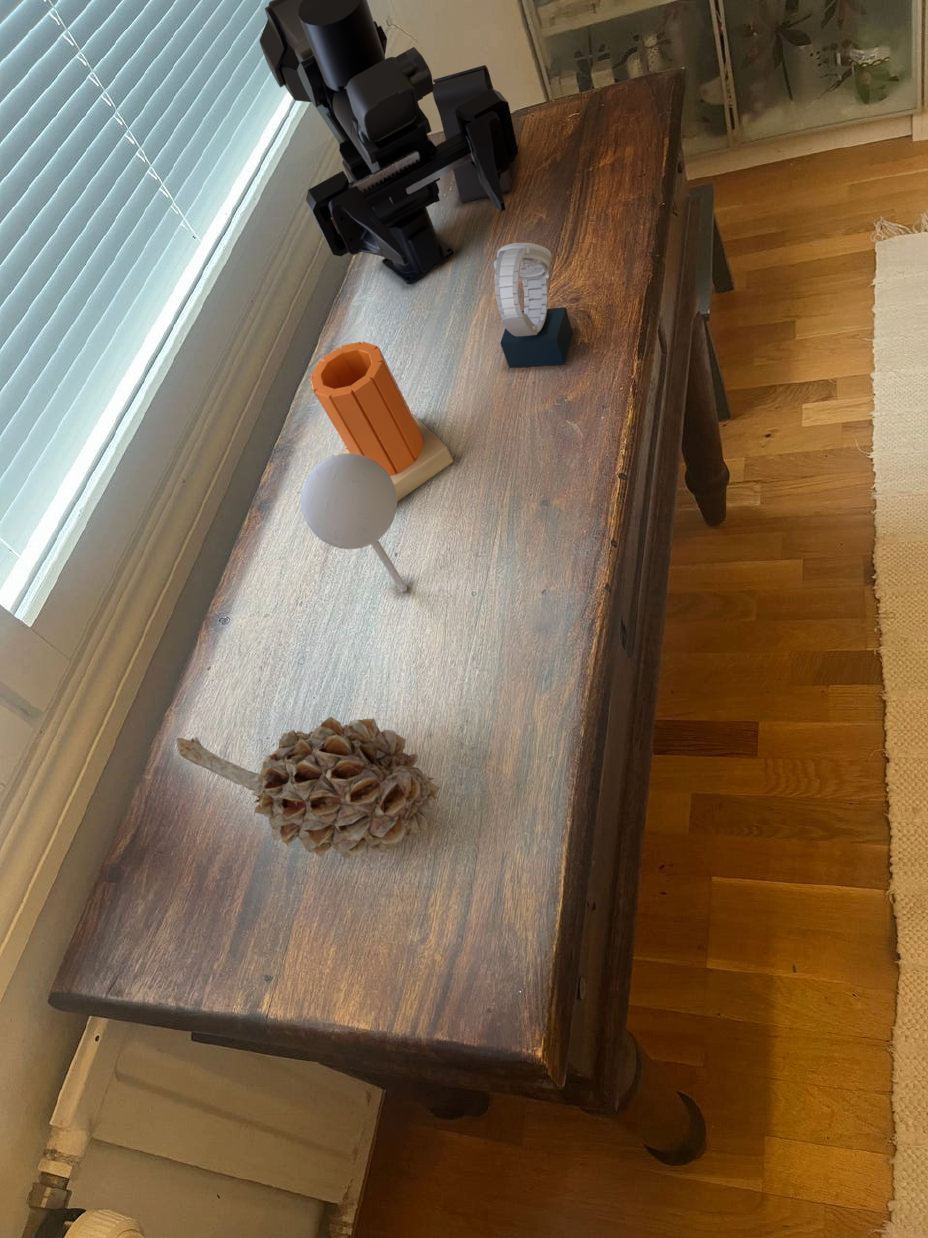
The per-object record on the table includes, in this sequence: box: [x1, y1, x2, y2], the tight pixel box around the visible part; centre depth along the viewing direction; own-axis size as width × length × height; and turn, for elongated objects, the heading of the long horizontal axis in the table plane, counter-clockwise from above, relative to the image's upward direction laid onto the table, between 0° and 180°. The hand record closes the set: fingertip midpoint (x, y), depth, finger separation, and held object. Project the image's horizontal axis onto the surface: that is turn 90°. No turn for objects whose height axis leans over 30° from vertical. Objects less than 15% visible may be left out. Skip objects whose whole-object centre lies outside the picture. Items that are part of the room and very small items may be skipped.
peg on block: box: [336, 413, 454, 503], centre depth 84 cm, size 8×8×8 cm
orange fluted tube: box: [310, 341, 424, 476], centre depth 82 cm, size 6×7×10 cm
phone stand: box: [432, 64, 517, 204], centre depth 105 cm, size 9×6×12 cm, turn 173°
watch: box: [493, 242, 574, 369], centre depth 85 cm, size 6×8×11 cm
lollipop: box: [300, 453, 408, 593], centre depth 72 cm, size 7×7×15 cm
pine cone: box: [175, 716, 441, 860], centre depth 65 cm, size 22×10×10 cm, turn 74°
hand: (454, 233), depth 77 cm, fingers open, 9 cm apart
